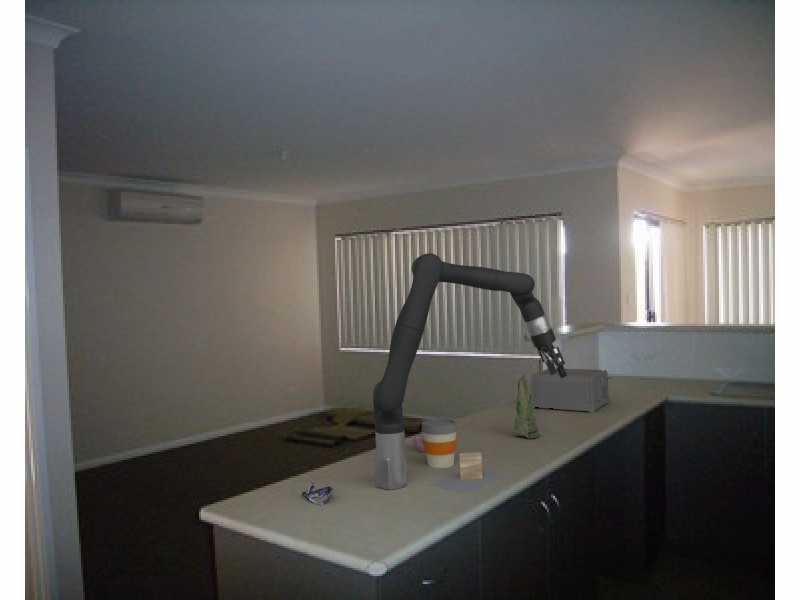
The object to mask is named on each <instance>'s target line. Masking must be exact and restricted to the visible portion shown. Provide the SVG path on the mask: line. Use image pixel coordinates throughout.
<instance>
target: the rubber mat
mask: <svg viewBox="0 0 800 600" xmlns="http://www.w3.org/2000/svg"><path fill="white" fill-rule="evenodd" d="M502 478H504V476H502V475H499V474H498V475H497V474H492V473H487V472H483V471H482V478H475V479H460V471H458V472H456V473H453V474H451V475H449V476H446V477H444V478H441V479H438V480H437V481H434V482H432V483H429V484H428V485H429V486H431V487H437V488H440V489H445V490H449V491H454V492H457V493H462V494H466V495H467V494H470V493H472V492H475V491H478V490H479V489H481V488H483V487H486V486H487V485H490V484H492V483H494V482H496V481H498V480H501V479H502Z"/></svg>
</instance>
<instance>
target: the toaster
mask: <svg viewBox="0 0 800 600" xmlns="http://www.w3.org/2000/svg"><path fill="white" fill-rule="evenodd" d="M564 369H565V371H566V373H567V376H566V377H564V378H560V376H559V373H558V371H557V368H556V371H557V373H555V374H553V375H551V374H550V372H549V370H548V368H546V369H544V370H541V371H538V372H536V373H533V374H531V375H530V382H529V383H530V396H531V403H532V407H539V408H538V409H549V408H553V409H554V410H567V411H580V412H588V413H589V412H595V413H596V411H597V410H598V409H600V408H602V407H603V406H604V405H606V404H607V402H609V401H610V400H611V397H610V394H609V380H613V377H611V376H609V374H608V371H607V370H606V369H604V370H601V369H583V368H564ZM609 403H610V402H609ZM553 409H552V410H553Z"/></svg>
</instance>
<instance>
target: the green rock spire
mask: <svg viewBox="0 0 800 600" xmlns="http://www.w3.org/2000/svg"><path fill="white" fill-rule="evenodd" d="M517 382H518V383H517V399H516V401H517V405H516V408H515V409H516V414H517V415H516V416H515V423H514V430H513V436H514V437H523V438H528V439H535V438H538V437H540V433H539V429H538V428H539V427H538V425H537V419H536V416H535V412H534V409H533V407H532V403H531V393H530V391H529V386H528V380H527V377H526V375H525V374H523V376H521V377H520V378H519V379H518V381H517Z"/></svg>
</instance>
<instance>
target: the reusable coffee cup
mask: <svg viewBox="0 0 800 600" xmlns="http://www.w3.org/2000/svg"><path fill="white" fill-rule="evenodd" d="M457 425H458V424H457V421H456V420H453V419H448V418H435V419H428V420H423V421H422V422H421V432H422V434H423V442H422V443H423V445H424V451H425V452H424V453H425V454H426V462H427V465H428V467H431V468H434V469H435V468H437V469H442V468H443V469H444V468H445V469H446V468H450V467H452V466H454V463H455V453H456V452H457V445H458V444H457V442H458V438H457V431H458V426H457Z"/></svg>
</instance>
